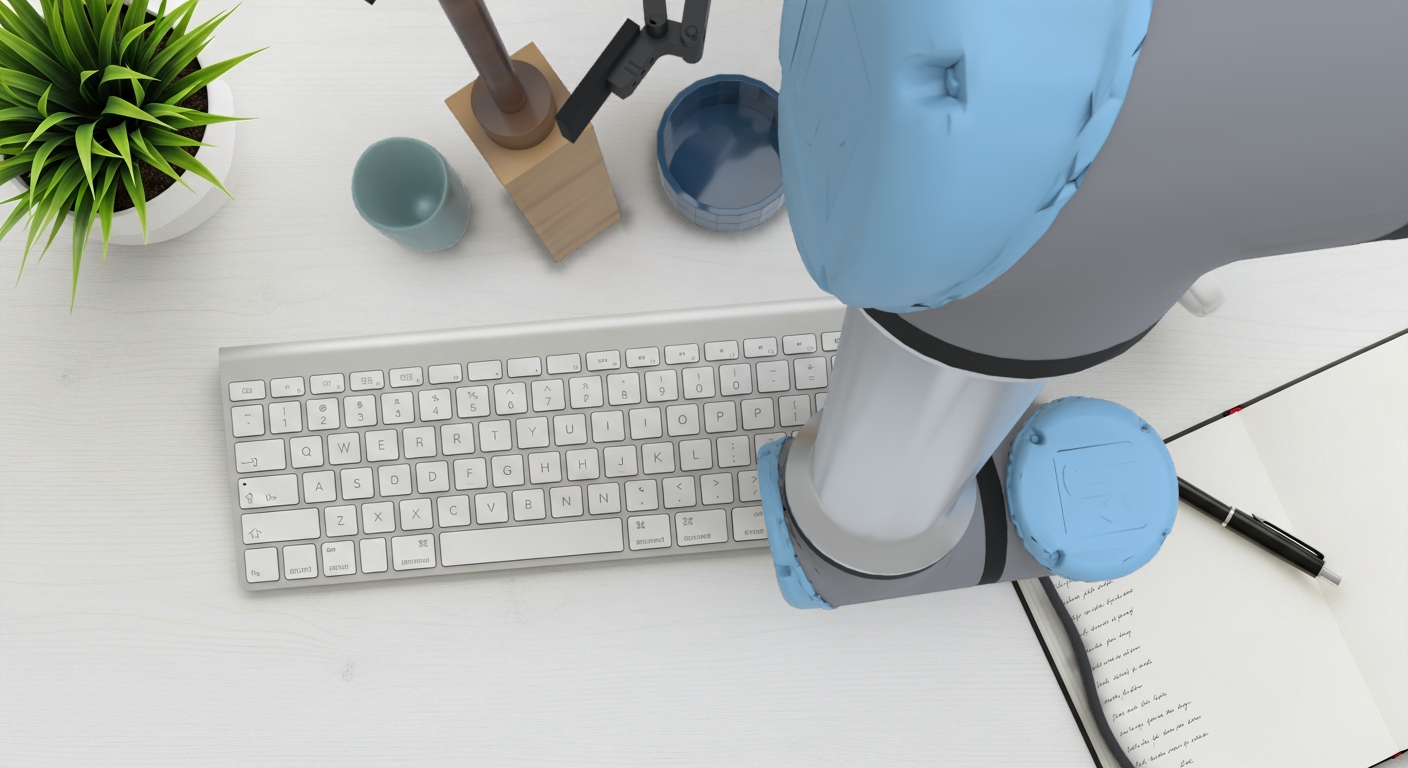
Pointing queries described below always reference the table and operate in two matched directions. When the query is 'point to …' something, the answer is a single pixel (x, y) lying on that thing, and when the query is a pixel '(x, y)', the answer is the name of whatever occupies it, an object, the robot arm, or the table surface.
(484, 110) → the brown peg on base
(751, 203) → the bowl
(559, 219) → the upright wooden block
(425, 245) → the cup
